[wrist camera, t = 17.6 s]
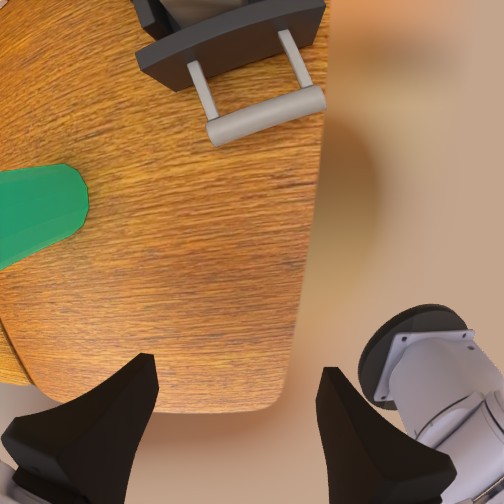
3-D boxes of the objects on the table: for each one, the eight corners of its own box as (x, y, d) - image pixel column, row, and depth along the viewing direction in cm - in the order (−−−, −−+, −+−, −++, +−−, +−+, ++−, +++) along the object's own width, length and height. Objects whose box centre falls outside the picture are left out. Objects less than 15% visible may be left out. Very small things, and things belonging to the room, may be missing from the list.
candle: (93, 168, 20) (-33, 190, 9) (86, 244, 22) (-23, 308, 10) (39, 159, 20) (-76, 177, 9) (35, 228, 22) (-69, 274, 10)
